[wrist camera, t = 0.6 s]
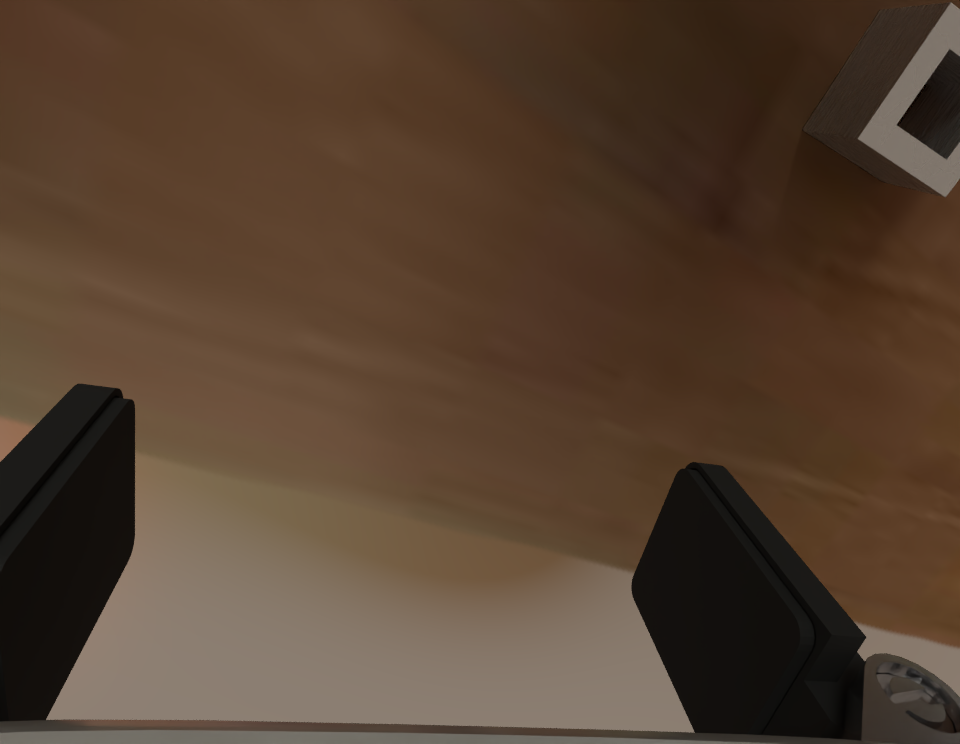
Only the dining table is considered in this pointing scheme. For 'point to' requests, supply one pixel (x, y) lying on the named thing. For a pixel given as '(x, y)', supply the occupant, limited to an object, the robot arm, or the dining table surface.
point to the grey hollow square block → (899, 100)
